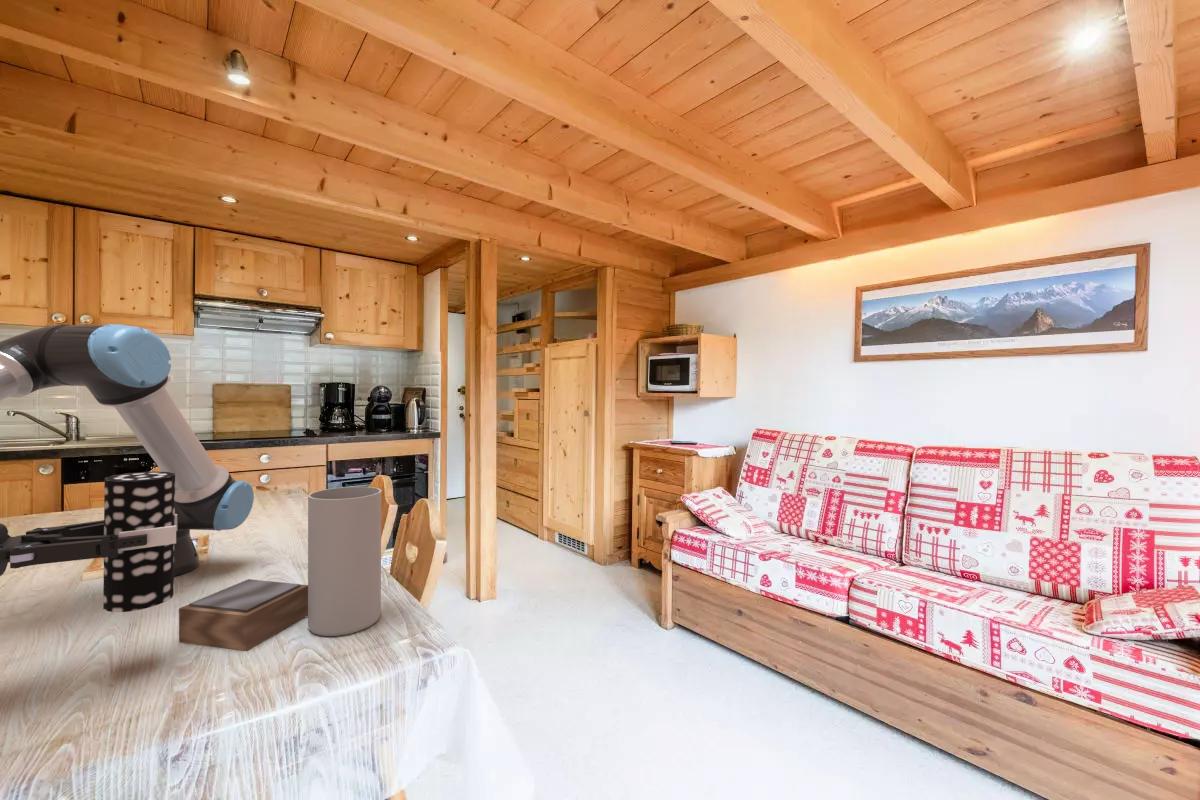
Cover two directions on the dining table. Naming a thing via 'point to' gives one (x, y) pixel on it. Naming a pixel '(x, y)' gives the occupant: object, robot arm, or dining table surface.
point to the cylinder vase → (344, 560)
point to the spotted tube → (145, 570)
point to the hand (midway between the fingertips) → (176, 528)
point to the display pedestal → (243, 614)
